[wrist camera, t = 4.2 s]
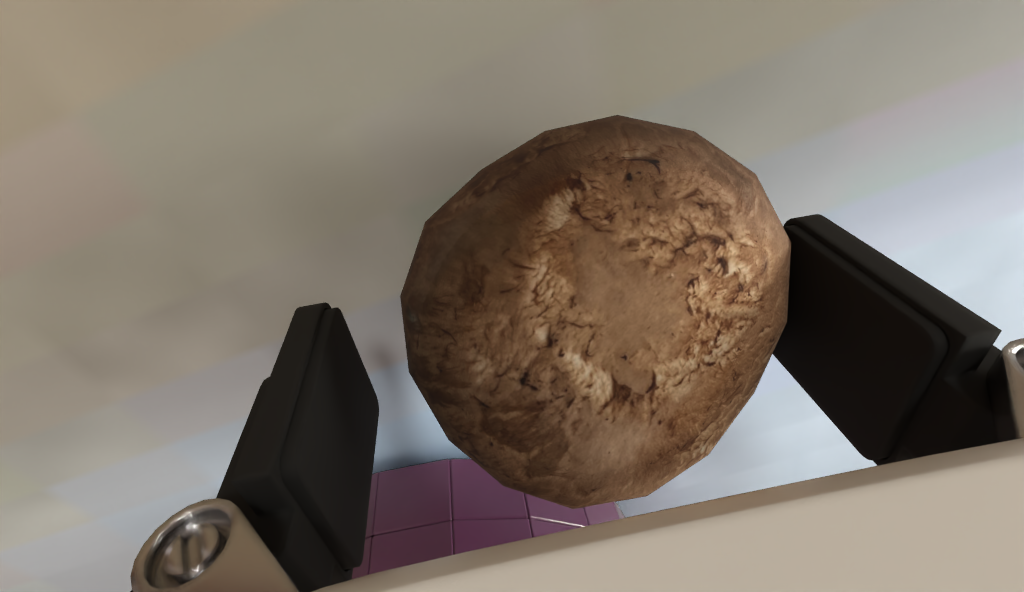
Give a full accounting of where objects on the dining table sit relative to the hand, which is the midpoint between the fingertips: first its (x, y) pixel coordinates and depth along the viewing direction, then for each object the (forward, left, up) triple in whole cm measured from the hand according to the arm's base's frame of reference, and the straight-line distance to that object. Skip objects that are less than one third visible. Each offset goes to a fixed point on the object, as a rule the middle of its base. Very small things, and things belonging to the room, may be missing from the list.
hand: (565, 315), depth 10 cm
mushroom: (0, 0, -3) cm, 3 cm away
